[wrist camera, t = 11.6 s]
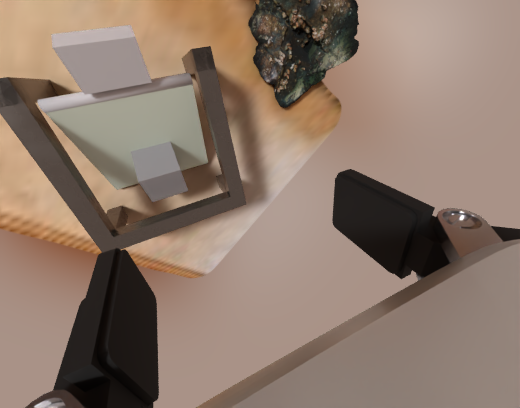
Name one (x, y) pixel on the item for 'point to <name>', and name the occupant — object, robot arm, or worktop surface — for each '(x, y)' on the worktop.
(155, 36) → the worktop surface
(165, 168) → the grey cube
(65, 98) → the trapdoor
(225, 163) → the frame
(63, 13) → the worktop surface
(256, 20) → the decorative rock
